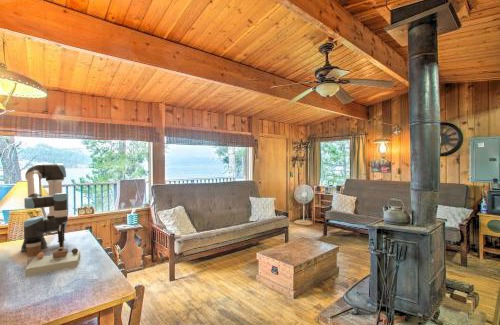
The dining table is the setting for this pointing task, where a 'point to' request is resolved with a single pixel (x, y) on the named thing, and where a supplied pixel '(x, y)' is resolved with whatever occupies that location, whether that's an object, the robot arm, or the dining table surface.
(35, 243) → the coffee cup
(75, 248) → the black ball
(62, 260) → the deck
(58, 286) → the dining table surface
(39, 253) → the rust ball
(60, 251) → the cover
